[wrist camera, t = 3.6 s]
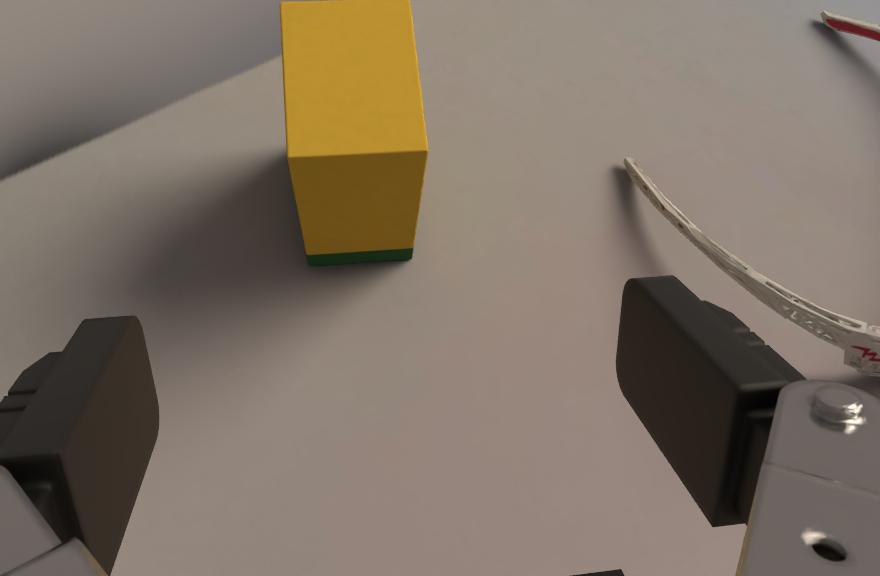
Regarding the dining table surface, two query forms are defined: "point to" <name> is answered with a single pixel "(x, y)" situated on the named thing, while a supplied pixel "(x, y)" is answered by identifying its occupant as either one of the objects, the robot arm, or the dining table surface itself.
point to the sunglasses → (867, 344)
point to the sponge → (354, 127)
